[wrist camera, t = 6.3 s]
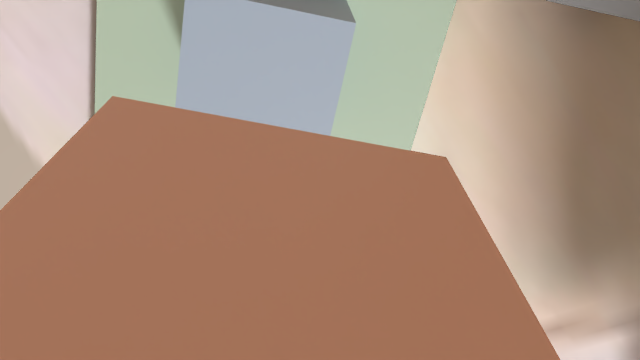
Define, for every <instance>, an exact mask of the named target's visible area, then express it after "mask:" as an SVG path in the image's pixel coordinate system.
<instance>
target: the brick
mask: <svg viewBox="0 0 640 360" xmlns="http://www.w3.org/2000/svg"><path fill="white" fill-rule="evenodd" d="M0 360H560V358H559V357H558V355H557V353H556V351H555V350H554V348H553V346H552V344H551V343H550V341H549V339H548V337H547V335H546V334H545V332H544V330H543V328H542V327H541V325H540V323H539V321H538V319H537V318H536V316H535V314H534V312H533V311H532V309H531V307H530V305H529V303H528V302H527V300H526V298H525V296H524V295H523V293H522V291H521V289H520V288H519V286H518V284H517V282H516V280H515V279H514V277H513V275H512V273H511V272H510V270H509V268H508V266H507V264H506V263H505V261H504V259H503V257H502V256H501V254H500V252H499V250H498V248H497V247H496V245H495V243H494V241H493V240H492V238H491V236H490V234H489V232H488V231H487V229H486V227H485V225H484V224H483V222H482V220H481V218H480V217H479V215H478V213H477V211H476V209H475V208H474V206H473V204H472V202H471V201H470V199H469V197H468V195H467V193H466V192H465V190H464V188H463V186H462V185H461V183H460V181H459V179H458V177H457V176H456V174H455V172H454V170H453V169H452V167H451V165H450V163H449V162H448V160H447V158H446V157H442V156H437V155H431V154H426V153H420V152H415V151H409V150H404V149H399V148H393V147H388V146H382V145H377V144H371V143H366V142H360V141H355V140H350V139H344V138H339V137H333V136H328V135H322V134H317V133H312V132H306V131H301V130H295V129H290V128H284V127H279V126H273V125H268V124H263V123H257V122H252V121H246V120H241V119H235V118H230V117H225V116H219V115H214V114H208V113H203V112H197V111H192V110H186V109H181V108H176V107H170V106H165V105H159V104H154V103H148V102H143V101H137V100H132V99H127V98H121V97H116V96H112V97H111V98H110V99H109V100H108V101H107V102H106V103H105V104H104V105H103V106H102V107H101V108H100V109H99V110H98V111H97V112H96V113H95V114H94V115H93V116H92V117H91V118H90V120H89V121H88V122H87V123H86V124H85V125H84V126H83V127H82V128H81V129H80V130H79V131H78V132H77V133H76V134H75V135H74V136H73V137H72V138H71V139H70V140H69V141H68V142H67V143H66V144H65V145H64V146H63V147H62V148H61V149H60V150H59V151H58V152H57V153H56V154H55V155H54V156H53V157H52V158H51V159H50V160H49V161H48V162H47V163H46V164H45V165H44V166H43V167H42V169H41V170H40V171H39V172H38V173H37V174H36V175H35V176H34V177H33V178H32V179H31V180H30V181H29V182H28V183H27V184H26V185H25V186H24V187H23V188H22V189H21V190H20V191H19V192H18V193H17V194H16V195H15V196H14V197H13V198H12V199H11V200H10V201H9V202H8V203H7V204H6V205H5V206H4V207H3V208H2V209H1V210H0Z"/></svg>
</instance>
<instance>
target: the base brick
mask: <svg viewBox="0 0 640 360" xmlns="http://www.w3.org/2000/svg"><path fill="white" fill-rule="evenodd" d="M355 26H356V21H355V19H354V17H353V14H352V12H351V10H350V7H349V5H348V3H347V0H185V3H184V14H183V25H182V37H181V48H180V59H179V70H178V82H177V93H176V104H175V107H176V108H181V109H186V110H192V111H197V112H203V113H208V114H214V115H219V116H225V117H230V118H235V119H241V120H246V121H252V122H257V123H263V124H268V125H273V126H279V127H284V128H290V129H295V130H301V131H306V132H312V133H317V134H322V135H328V136H330V135H331V130H332V126H333V122H334V117H335V113H336V109H337V104H338V100H339V96H340V91H341V87H342V83H343V78H344V74H345V70H346V65H347V61H348V57H349V52H350V48H351V44H352V39H353V35H354V31H355Z"/></svg>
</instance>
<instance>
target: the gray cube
mask: <svg viewBox="0 0 640 360" xmlns="http://www.w3.org/2000/svg"><path fill="white" fill-rule="evenodd" d="M546 1H550V2H555V3H559V4H564V5H568V6H573V7H577V8H582V9H586V10H591V11H595V12H600V13H604V14H609V15H613V16H618V17H622V18H627V19H631V20H636V21H640V0H546Z"/></svg>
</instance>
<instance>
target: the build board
mask: <svg viewBox="0 0 640 360" xmlns="http://www.w3.org/2000/svg"><path fill="white" fill-rule="evenodd" d="M456 1H457V0H347V3H348V5H349V7H350V10H351V12H352V14H353V17H354V19H355V21H356V26H355V31H354V35H353V39H352V44H351V48H350V52H349V57H348V61H347V65H346V70H345V74H344V78H343V83H342V87H341V91H340V96H339V100H338V104H337V109H336V113H335V117H334V122H333V126H332V130H331V135H330V136H333V137H339V138H344V139H350V140H355V141H360V142H366V143H371V144H377V145H382V146H388V147H393V148H399V149H404V150H409V151H411V148H412V144H413V141H414V138H415V135H416V131H417V128H418V125H419V121H420V118H421V115H422V112H423V108H424V105H425V102H426V99H427V95H428V92H429V89H430V86H431V82H432V79H433V76H434V73H435V69H436V66H437V63H438V60H439V56H440V53H441V50H442V47H443V43H444V40H445V37H446V33H447V30H448V27H449V24H450V20H451V17H452V14H453V11H454V7H455V4H456ZM184 3H185V0H97V12H96V66H95V113H96V112H97V111H98V110H99V109H100V108H101V107H102V106H103V105H104V104H105V103H106V102H107V101H108V100H109V99H110V98H111V97H112V96H116V97H121V98H127V99H132V100H137V101H143V102H148V103H154V104H159V105H165V106H170V107H175V104H176V93H177V82H178V70H179V59H180V48H181V37H182V25H183V14H184Z"/></svg>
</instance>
